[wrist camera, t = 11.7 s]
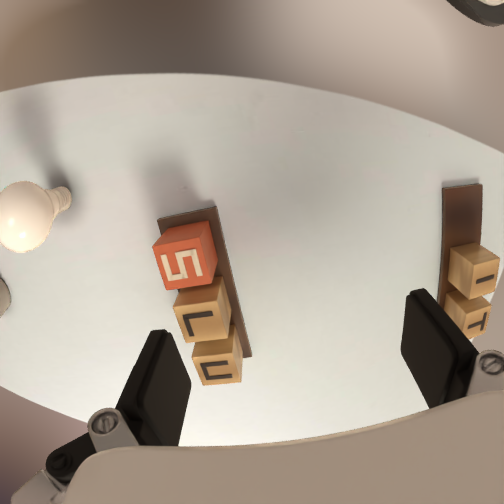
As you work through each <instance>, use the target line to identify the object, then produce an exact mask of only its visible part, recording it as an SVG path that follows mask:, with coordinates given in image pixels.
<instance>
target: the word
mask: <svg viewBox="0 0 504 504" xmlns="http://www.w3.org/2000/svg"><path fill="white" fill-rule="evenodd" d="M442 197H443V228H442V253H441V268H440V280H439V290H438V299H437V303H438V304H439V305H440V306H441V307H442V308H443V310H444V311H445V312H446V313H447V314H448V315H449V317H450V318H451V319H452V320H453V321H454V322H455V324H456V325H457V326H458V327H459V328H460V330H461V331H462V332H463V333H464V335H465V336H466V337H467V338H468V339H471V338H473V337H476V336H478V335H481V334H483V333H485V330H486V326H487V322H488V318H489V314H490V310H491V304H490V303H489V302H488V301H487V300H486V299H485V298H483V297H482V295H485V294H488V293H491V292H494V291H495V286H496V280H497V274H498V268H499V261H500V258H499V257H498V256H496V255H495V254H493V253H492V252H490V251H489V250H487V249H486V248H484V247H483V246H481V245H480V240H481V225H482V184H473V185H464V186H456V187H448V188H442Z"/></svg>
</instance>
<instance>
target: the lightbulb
mask: <svg viewBox="0 0 504 504" xmlns="http://www.w3.org/2000/svg"><path fill="white" fill-rule="evenodd" d="M71 201H72V198H71V194H70V192H69V190H68V189H67V188H65V187H63V186H60V187H57V188H54V189H52V190H48V189H43V188H41V187H40V186H39V185H37V184H35V183H32V182H29V181H19V182H15V183H12V184H10V185H8V186H7V187H6V188H4V189H3V190H2V191H1V192H0V244H1V245H2V246H4V247H5V248H6V249H8V250H10V251H13V252H18V253H23V252H28V251H31V250H33V249H35V248H37V247H38V246H40V245H41V244H42V243H43V242H44V240H45V239H46V238H47V236H48V234H49V232H50V230H51V227H52V223H53V220H54V219H55V217H56V216H57V214H59V213H61V212H63V211H65V210H67V209H68V208H69V207H70V205H71Z"/></svg>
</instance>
